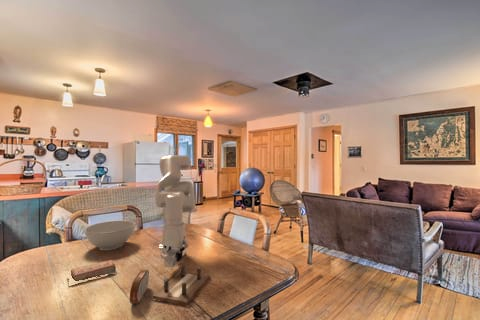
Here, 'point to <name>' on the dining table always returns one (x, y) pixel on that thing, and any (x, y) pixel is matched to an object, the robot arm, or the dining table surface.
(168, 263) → the steel bar
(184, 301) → the peg stand
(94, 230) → the decorative bowl
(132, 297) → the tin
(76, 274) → the packaged product
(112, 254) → the dining table surface
